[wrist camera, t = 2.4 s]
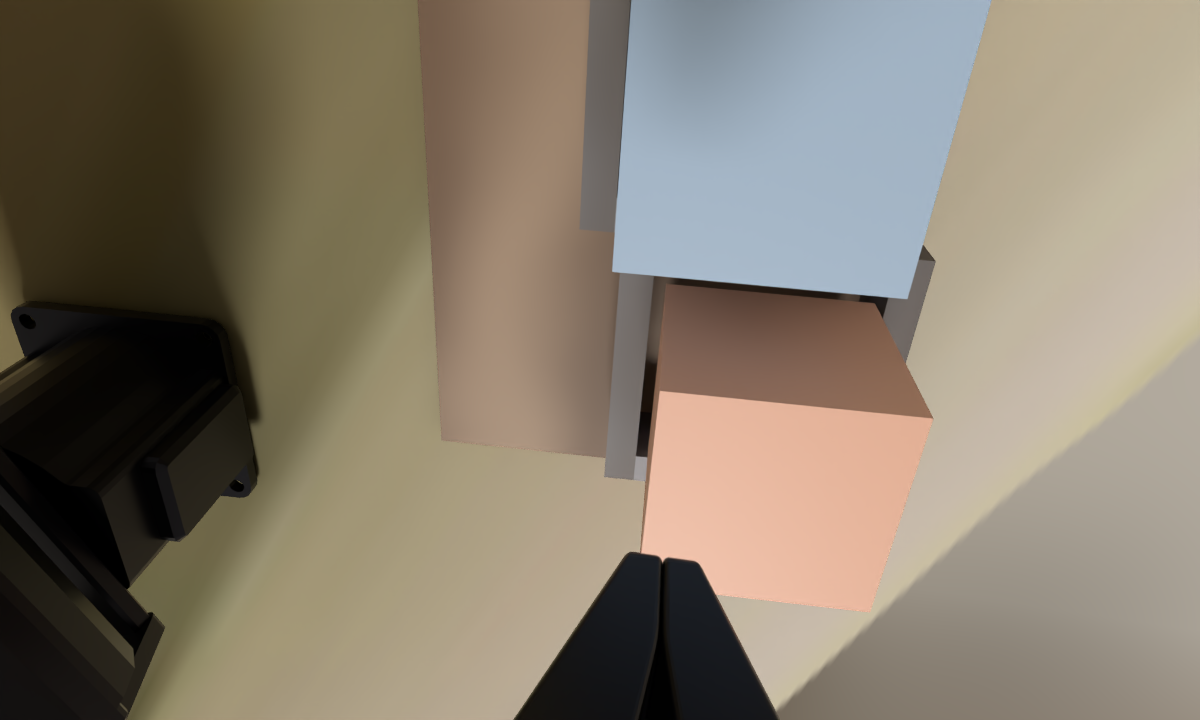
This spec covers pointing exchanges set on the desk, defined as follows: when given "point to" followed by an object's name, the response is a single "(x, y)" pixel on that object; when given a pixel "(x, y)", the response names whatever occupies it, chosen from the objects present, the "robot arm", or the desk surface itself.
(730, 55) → the pale blue cube
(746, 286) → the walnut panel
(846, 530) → the peach cube
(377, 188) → the desk surface
